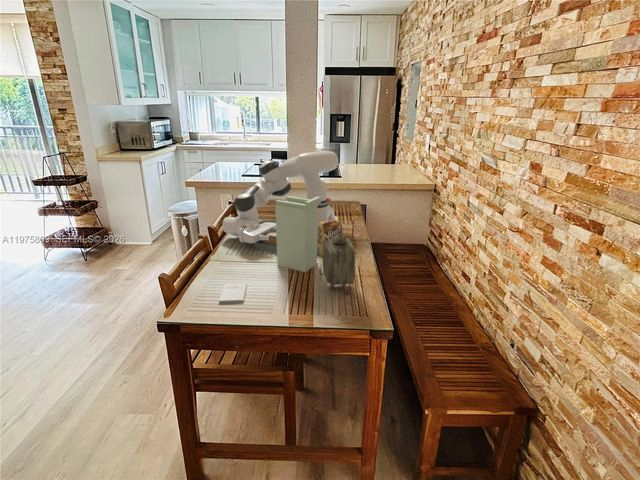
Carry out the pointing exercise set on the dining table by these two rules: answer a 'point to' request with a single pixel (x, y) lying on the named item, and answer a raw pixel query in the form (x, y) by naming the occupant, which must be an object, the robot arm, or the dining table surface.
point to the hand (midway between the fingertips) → (275, 235)
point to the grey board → (266, 246)
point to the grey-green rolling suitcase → (339, 260)
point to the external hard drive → (233, 293)
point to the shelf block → (297, 232)
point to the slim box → (271, 238)
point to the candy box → (326, 232)
